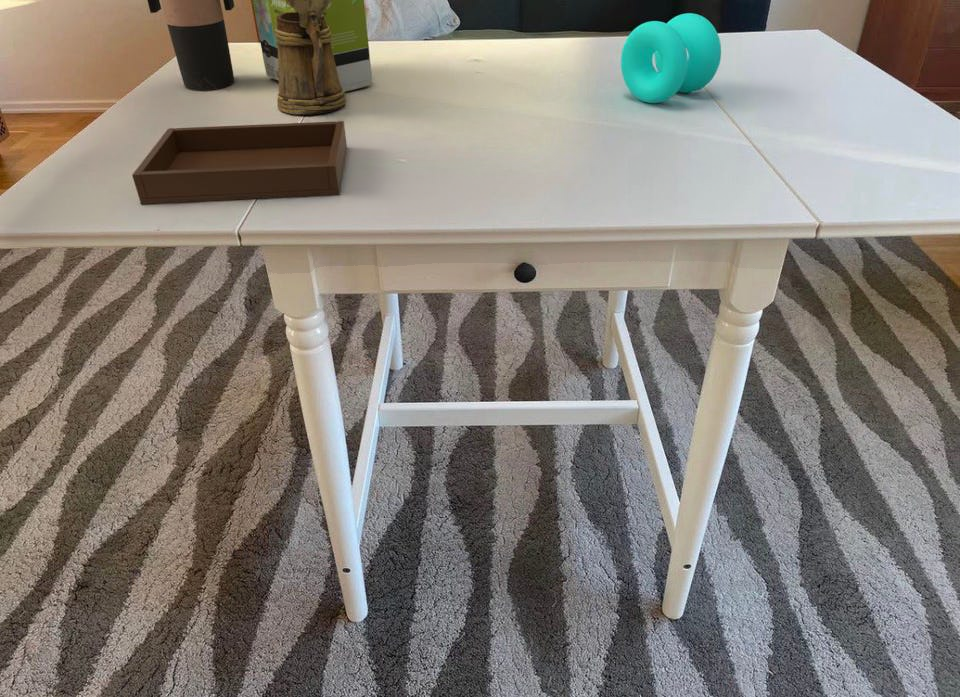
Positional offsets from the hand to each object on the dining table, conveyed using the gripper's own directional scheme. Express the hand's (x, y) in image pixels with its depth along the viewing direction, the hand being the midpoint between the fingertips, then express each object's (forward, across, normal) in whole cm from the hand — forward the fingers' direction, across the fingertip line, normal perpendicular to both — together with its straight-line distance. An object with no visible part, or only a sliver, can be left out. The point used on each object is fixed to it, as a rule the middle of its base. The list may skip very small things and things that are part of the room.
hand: (193, 9), depth 101 cm
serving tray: (+10, -12, +36) cm, 39 cm away
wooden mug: (+10, -17, +15) cm, 25 cm away
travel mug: (+10, 0, 0) cm, 10 cm away
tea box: (+10, -16, +2) cm, 19 cm away
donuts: (+10, -64, +15) cm, 67 cm away
